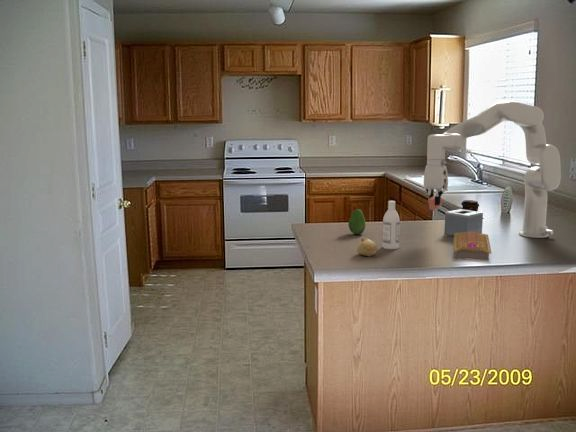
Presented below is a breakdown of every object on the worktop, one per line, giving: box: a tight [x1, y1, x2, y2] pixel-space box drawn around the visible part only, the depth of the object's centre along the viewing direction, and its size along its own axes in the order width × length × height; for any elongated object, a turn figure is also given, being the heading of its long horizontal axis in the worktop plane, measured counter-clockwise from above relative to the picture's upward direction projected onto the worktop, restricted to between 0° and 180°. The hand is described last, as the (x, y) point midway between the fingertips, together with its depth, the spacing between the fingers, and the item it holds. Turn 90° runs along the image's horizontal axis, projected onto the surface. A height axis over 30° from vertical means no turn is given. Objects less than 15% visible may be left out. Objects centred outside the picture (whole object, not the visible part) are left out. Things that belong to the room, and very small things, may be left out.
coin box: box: [443, 208, 484, 238], centre depth 279 cm, size 12×12×11 cm
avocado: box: [348, 208, 366, 235], centre depth 282 cm, size 8×8×12 cm
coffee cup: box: [460, 199, 480, 212], centre depth 299 cm, size 9×8×13 cm
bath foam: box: [381, 200, 401, 250], centre depth 254 cm, size 7×7×20 cm
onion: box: [356, 237, 378, 257], centre depth 243 cm, size 8×8×7 cm
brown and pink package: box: [452, 231, 493, 261], centre depth 252 cm, size 35×14×6 cm, turn 164°
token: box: [427, 193, 443, 211], centre depth 267 cm, size 2×6×5 cm, turn 131°
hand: (434, 204), depth 267 cm, fingers closed on token, 2 cm apart
